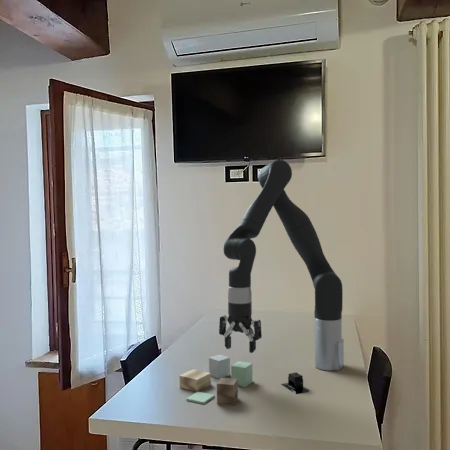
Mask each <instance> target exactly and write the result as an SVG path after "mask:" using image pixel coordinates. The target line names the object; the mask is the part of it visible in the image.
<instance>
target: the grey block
mask: <svg viewBox="0 0 450 450" xmlns="http://www.w3.org/2000/svg"><path fill="white" fill-rule="evenodd" d="M208 373H211V377H213V378H216V379H217V380H220V378H227V377H229V376H231V357H230V356H226V355H224V354H217V355H214V356H210V357H208Z"/></svg>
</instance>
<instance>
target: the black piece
mask: <svg viewBox="0 0 450 450" xmlns="http://www.w3.org/2000/svg"><path fill="white" fill-rule="evenodd" d="M287 381H288V382H284V383H280V385H281V386H282V387H285V388H286V389H287V390H289V391H290V392H291V393H294V394H295V395H301V394H304V393H310V392H312V390H311V389H309V388H307V387H305V386H304V378H303V375H302V374H300V373H298V372H291V373H288V377H287Z"/></svg>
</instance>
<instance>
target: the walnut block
mask: <svg viewBox="0 0 450 450" xmlns="http://www.w3.org/2000/svg"><path fill="white" fill-rule="evenodd" d="M238 386H239V385H238V379H233V378H231V377H230V378H229V377H223V378H220V379H218V382H217V383H216V404H217V405H224V406H235V404H236V403H237V401H238V399H239V394H238V393H239V389H238V388H239V387H238Z"/></svg>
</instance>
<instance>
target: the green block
mask: <svg viewBox="0 0 450 450" xmlns="http://www.w3.org/2000/svg"><path fill="white" fill-rule="evenodd" d="M230 378H233V379H238V386H239V387H240V386H241V387H247V386H248V385H250V384H251V383H253V382H254V381H253V363H252V362H247V361H239V360H238V361H236V362H235V363H233V364H231V365H230Z"/></svg>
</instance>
